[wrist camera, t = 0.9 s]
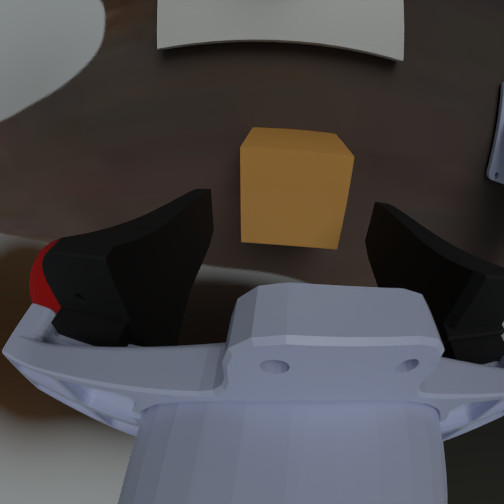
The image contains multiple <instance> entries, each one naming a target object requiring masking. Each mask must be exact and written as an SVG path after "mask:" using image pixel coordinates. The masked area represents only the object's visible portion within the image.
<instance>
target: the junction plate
mask: <svg viewBox="0 0 504 504" xmlns="http://www.w3.org/2000/svg"><path fill="white" fill-rule="evenodd" d="M229 42H282V43H297V44H308V45H317V46H325V47H332V48H339V49H345V50H350V51H356V52H361V53H365V54H370V55H374V56H378V57H382V58H386V59H390V60H394V61H403V54H404V6H403V0H158V8H157V49H162V50H166V49H172V48H178V47H185V46H193V45H202V44H213V43H229Z"/></svg>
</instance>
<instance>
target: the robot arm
mask: <svg viewBox="0 0 504 504" xmlns="http://www.w3.org/2000/svg"><path fill="white" fill-rule="evenodd" d="M495 173H496V175H495ZM486 174H487V177H488V178H489V179H491V180H493V181H496V182H499V183H501V184H504V82H503V83H502V85H501V95H500V104H499V112H498V119H497V126H496V132H495V137H494V142H493V147H492V151H491V156H490V160H489V164H488V168H487V172H486ZM213 230H214V228H213V215H212V201H211V189H195V190H193V191H190V192H188V193H186V194H185V195H183V196H181V197H179V198H177V199H175V200H173V201H172V202H170V203H168V204H166V205H164V206H162V207H160V208H158V209H156V210H154V211H152V212H150V213H148V214H146V215H143V216H141V217H139V218H136V219H134V220H131V221H128V222H125V223H122V224H119V225H116V226H113V227H110V228H107V229H103V230H99V231H95V232H91V233H86V234H81V235H75V236H70V237H63V238H60V239H59V240H58V241H57V242H56V243H55V244H54V245H53V246H52V247H51V248H50V249H49V251H48V252H47V253H46V254H45V255H44V257H43V259H42V269H43V274H44V276H45V279H46V281H47V283H48V285H49V287H50V289H51V291H52V292H53V294H54V296H55V298H56V299H57V301H58V303H59V305H60V306H61V308H60V310H59V311H58V313H56V312H54V311H53V310H52V309H50V308H47V307H44V306H41V305H38V304H35V303H32V305H31V306H30V308H29V309H28V311H27V312H26V313H25V315H24V316H23V318H22V319H21V321H20V322H19V324H18V325H17V327H16V328H15V330H14V332H13V333H12V335H11V336H10V338H9V340H8V341H7V343H6V345H5V346H4V348H3V350H2V352H3V354H4V355H5V356H6V357H7V358H8V360H10V362H11V363H12V364H13V365H14V366H15V367H16V368H17V369H18V370H19V371H20V372H21V373H22V374H23V375H24V376H25V377H26V378H27V379H28V380H29V381H30V382H31V383H33V384H34V385H35V386H36V387H37V388H38V389H40V390H41V391H43V392H45V393H46V394H48V395H50V396H52V397H54V398H55V399H57V400H59V401H61V402H63V403H64V404H66V405H68V406H70V407H72V408H74V409H76V410H78V411H80V412H81V413H84V414H85V415H87V416H89V417H91V418H94V419H96V420H98V421H100V422H102V423H104V424H106V425H109V426H111V427H113V428H116V429H118V430H120V431H123V432H125V433H128V434H130V435H133V436H135V437H136V440H135V443H134V446H133V450H132V453H131V457H130V460H129V464H128V467H127V471H126V475H125V478H124V482H123V486H122V490H121V494H120V498H119V503H118V504H447V479H446V467H445V456H444V448H443V441H445V440H448V439H450V438H453V437H456V436H458V435H460V434H463V433H466V432H468V431H470V430H473V429H475V428H477V427H480V426H482V425H484V424H486V423H489V422H491V421H493V420H495V419H497V418H499V417H502V416H503V415H504V341H503V339H502V337H501V335H502V334H503V333H504V328H503V326H502V323H503V321H504V268H503V267H500V266H498V265H495V264H492V263H489V262H487V261H484V260H482V259H480V258H477V257H475V256H473V255H471V254H469V253H467V252H465V251H463V250H461V249H459V248H457V247H455V246H453V245H452V244H450V243H448V242H447V241H445V240H443V239H441V238H440V237H438V236H437V235H435V234H434V233H432V232H431V231H429V230H428V229H426V228H425V227H423V226H422V225H420V224H419V223H417V222H416V221H415V220H413V219H412V218H410V217H409V216H407V215H406V214H405V213H403V212H402V211H400V210H399V209H397V208H395V207H394V206H392V205H390V204H387V203H379V202H375V204H374V208H373V212H372V217H371V221H370V224H369V228H368V232H367V236H366V239H365V243H366V248H367V253H368V258H369V261H370V264H371V267H372V270H373V273H374V276H375V279H376V282H377V285H378V287H357V286H338V285H321V284H305V283H291V282H286V283H278V284H270V285H261V286H257V287H256V288H254V289H252V290H251V291H249V292H248V293H246V294H244V295H243V296H241V297H240V298H238V299H237V302H236V305H235V308H234V310H233V313H232V317H231V321H230V326H229V331H228V336H227V340H226V343H215V344H201V345H184V346H177V345H178V340H179V335H180V330H181V326H182V321H183V317H184V313H185V308H186V305H187V302H188V298H189V294H190V291H191V288H192V286H193V283H194V280H195V278H196V276H197V273H198V271H199V269H200V267H201V264H202V262H203V260H204V257H205V255H206V253H207V250H208V248H209V245H210V241H211V238H212V234H213Z"/></svg>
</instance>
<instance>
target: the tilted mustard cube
mask: <svg viewBox="0 0 504 504" xmlns="http://www.w3.org/2000/svg"><path fill="white" fill-rule="evenodd" d="M353 163H354V156H353V154H352V153H351V152H350V151H349V149H348V148H347V147H346V146H345V145H344V143H343V142H342V141H341V140H340V139H339V137H338V136H337V135H336V134H333V133H325V132H316V131H306V130H294V129H280V128H260V127H253V128H252V130H251V131H250V133H249V134H248V136H247V137H246V139H245V140H244V142H243V144H242V145H241V147H240V184H241V242H248V243H261V244H275V245H288V246H301V247H314V248H327V249H337V247H338V242H339V238H340V233H341V228H342V224H343V219H344V214H345V209H346V203H347V198H348V193H349V187H350V181H351V175H352V169H353Z"/></svg>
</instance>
